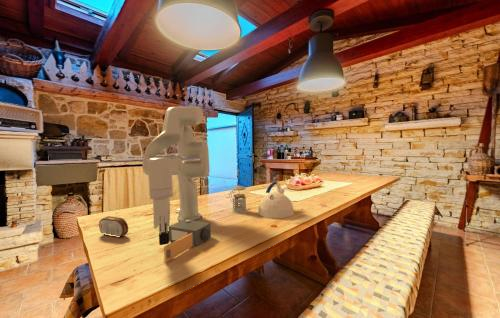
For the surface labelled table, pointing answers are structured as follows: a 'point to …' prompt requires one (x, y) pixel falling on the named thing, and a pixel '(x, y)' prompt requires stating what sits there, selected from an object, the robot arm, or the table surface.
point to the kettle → (275, 204)
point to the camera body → (190, 231)
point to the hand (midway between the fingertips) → (164, 243)
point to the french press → (239, 200)
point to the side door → (178, 247)
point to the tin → (113, 226)
